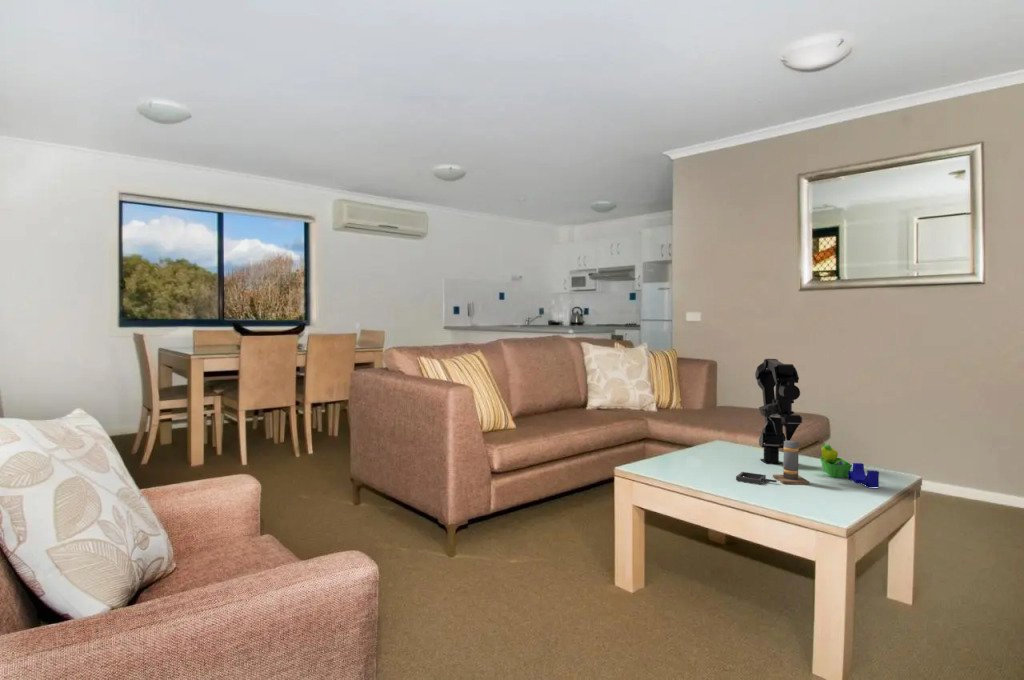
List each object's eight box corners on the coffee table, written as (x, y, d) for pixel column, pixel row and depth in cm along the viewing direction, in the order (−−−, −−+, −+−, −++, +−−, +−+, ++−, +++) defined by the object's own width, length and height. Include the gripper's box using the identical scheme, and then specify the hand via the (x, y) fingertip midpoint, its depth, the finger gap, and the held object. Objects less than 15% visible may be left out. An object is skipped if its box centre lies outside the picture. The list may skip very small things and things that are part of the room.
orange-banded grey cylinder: (780, 476, 209) (780, 441, 209) (790, 475, 211) (790, 440, 211) (791, 480, 205) (791, 443, 204) (801, 478, 207) (802, 442, 206)
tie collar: (742, 475, 214) (742, 471, 214) (778, 481, 207) (778, 477, 207) (736, 480, 208) (736, 476, 208) (773, 486, 200) (773, 482, 200)
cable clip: (848, 479, 211) (848, 462, 211) (861, 479, 211) (861, 463, 210) (864, 488, 199) (864, 471, 199) (878, 489, 199) (878, 471, 198)
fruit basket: (853, 479, 211) (853, 448, 210) (827, 478, 212) (827, 447, 212) (839, 471, 222) (840, 441, 222) (815, 470, 223) (815, 441, 223)
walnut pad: (772, 477, 213) (772, 474, 213) (797, 477, 212) (797, 474, 212) (783, 484, 204) (783, 481, 204) (809, 484, 203) (809, 481, 203)
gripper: (752, 393, 229) (752, 433, 229) (771, 400, 210) (771, 442, 211) (781, 394, 228) (781, 433, 229) (803, 400, 210) (802, 443, 210)
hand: (783, 438), depth 220 cm, fingers open, 9 cm apart
